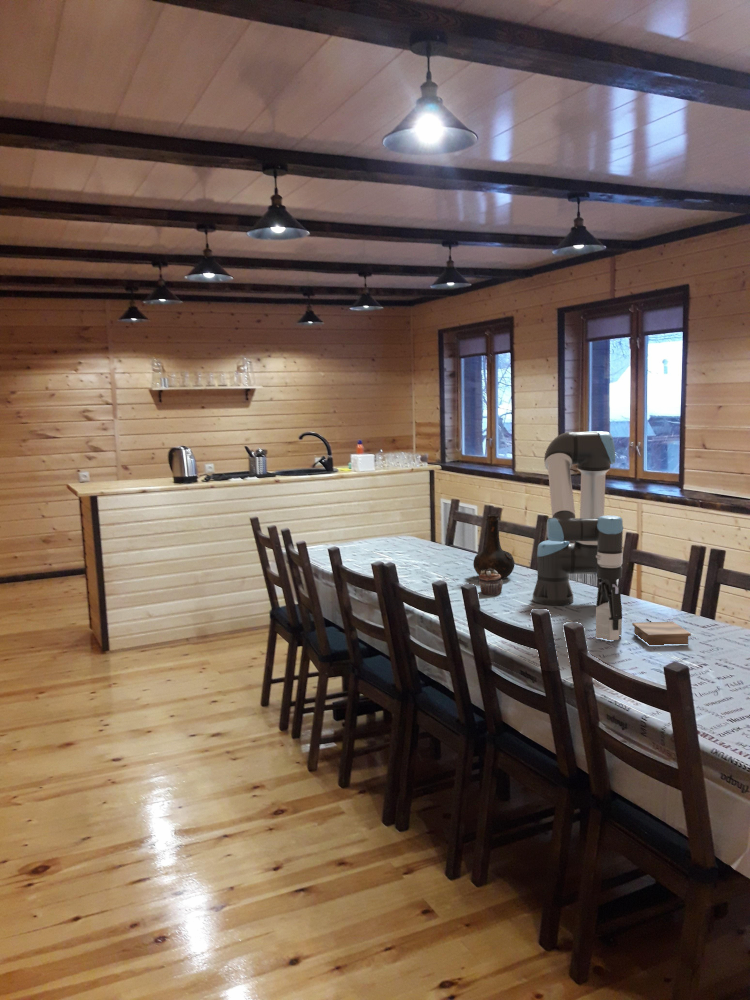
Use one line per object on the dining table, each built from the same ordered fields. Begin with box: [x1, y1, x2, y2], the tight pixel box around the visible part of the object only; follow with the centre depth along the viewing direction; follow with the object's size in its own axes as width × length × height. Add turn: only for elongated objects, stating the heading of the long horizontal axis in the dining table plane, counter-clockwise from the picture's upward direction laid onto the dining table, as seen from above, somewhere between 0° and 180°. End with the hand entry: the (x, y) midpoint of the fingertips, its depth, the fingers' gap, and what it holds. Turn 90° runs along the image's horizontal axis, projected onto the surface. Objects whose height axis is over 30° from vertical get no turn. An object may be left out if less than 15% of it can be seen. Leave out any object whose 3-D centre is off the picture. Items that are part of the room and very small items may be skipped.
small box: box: [595, 601, 623, 640], centre depth 233 cm, size 8×6×10 cm
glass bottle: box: [472, 513, 516, 580], centre depth 320 cm, size 18×18×28 cm
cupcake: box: [478, 568, 504, 596], centre depth 295 cm, size 10×10×10 cm
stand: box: [631, 621, 692, 645], centre depth 230 cm, size 13×13×4 cm
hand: (608, 634), depth 234 cm, fingers closed on small box, 9 cm apart
